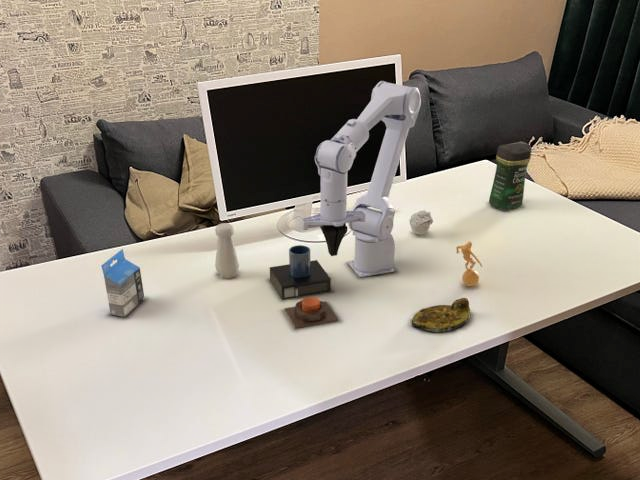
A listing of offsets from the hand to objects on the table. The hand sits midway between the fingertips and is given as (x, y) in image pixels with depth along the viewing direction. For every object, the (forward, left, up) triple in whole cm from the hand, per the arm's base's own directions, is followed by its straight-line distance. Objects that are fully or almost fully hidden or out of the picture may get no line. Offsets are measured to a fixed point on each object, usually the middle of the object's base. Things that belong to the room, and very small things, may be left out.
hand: (332, 253), depth 166 cm
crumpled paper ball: (-34, -23, -11) cm, 42 cm away
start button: (+8, +8, -8) cm, 14 cm away
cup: (+6, -6, -7) cm, 11 cm away
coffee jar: (-67, -33, -11) cm, 75 cm away
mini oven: (+6, -6, -10) cm, 13 cm away
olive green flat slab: (-19, +19, -11) cm, 29 cm away
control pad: (+8, +8, -10) cm, 15 cm away
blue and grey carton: (+46, -9, -11) cm, 48 cm away
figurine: (-32, +7, -11) cm, 34 cm away
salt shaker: (+21, -17, -11) cm, 29 cm away
